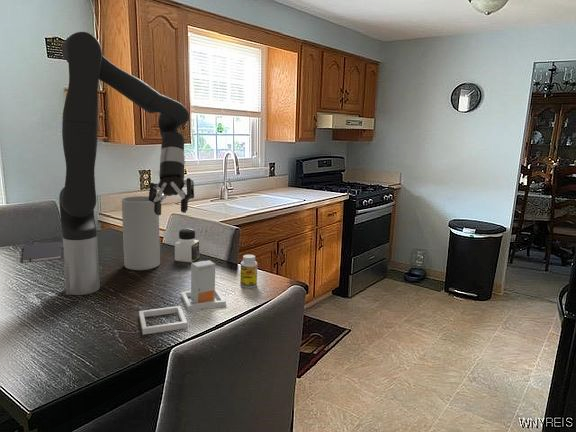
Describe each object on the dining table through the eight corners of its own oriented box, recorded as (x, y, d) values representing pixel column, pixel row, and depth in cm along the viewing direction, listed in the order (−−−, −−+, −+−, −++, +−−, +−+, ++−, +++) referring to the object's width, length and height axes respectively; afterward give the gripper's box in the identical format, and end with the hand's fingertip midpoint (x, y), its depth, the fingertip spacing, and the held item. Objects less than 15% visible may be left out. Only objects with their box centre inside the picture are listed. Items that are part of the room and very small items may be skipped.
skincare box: (196, 305, 121) (196, 266, 119) (190, 300, 124) (190, 262, 122) (215, 301, 125) (215, 263, 122) (209, 296, 128) (209, 259, 126)
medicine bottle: (191, 262, 159) (191, 232, 157) (174, 260, 161) (174, 230, 158) (199, 257, 166) (199, 228, 164) (182, 255, 167) (182, 226, 165)
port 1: (142, 334, 103) (142, 329, 103) (138, 313, 115) (138, 308, 115) (187, 327, 108) (187, 322, 107) (179, 307, 119) (179, 302, 119)
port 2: (188, 311, 117) (188, 306, 117) (180, 294, 129) (180, 289, 129) (225, 305, 122) (225, 301, 122) (215, 290, 133) (215, 285, 133)
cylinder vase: (116, 267, 150) (113, 199, 145) (140, 258, 162) (138, 195, 157) (144, 273, 146) (142, 203, 141) (167, 263, 157) (165, 198, 152)
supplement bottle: (237, 287, 137) (237, 257, 135) (244, 281, 142) (244, 252, 140) (253, 289, 135) (253, 259, 133) (259, 283, 140) (260, 254, 138)
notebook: (62, 259, 158) (59, 245, 176) (61, 255, 158) (59, 241, 176) (22, 263, 152) (24, 248, 170) (22, 259, 151) (23, 244, 169)
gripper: (145, 162, 130) (143, 212, 125) (187, 157, 127) (186, 208, 122) (158, 171, 137) (156, 218, 133) (198, 165, 134) (197, 214, 130)
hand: (170, 213), depth 127 cm, fingers open, 8 cm apart
